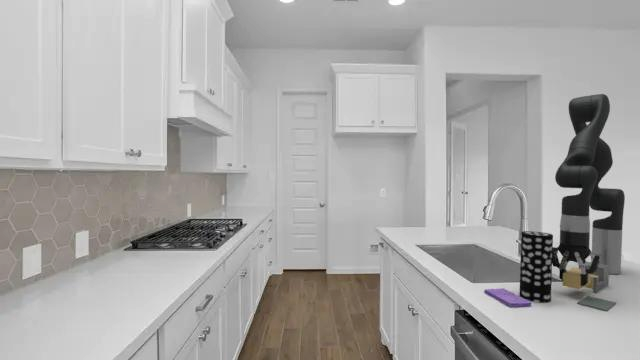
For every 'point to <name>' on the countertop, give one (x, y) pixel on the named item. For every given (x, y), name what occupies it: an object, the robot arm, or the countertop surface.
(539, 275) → the white-spotted black cylinder
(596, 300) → the mat
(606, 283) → the dispenser
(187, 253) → the countertop surface
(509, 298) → the sponges
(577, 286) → the wooden block
